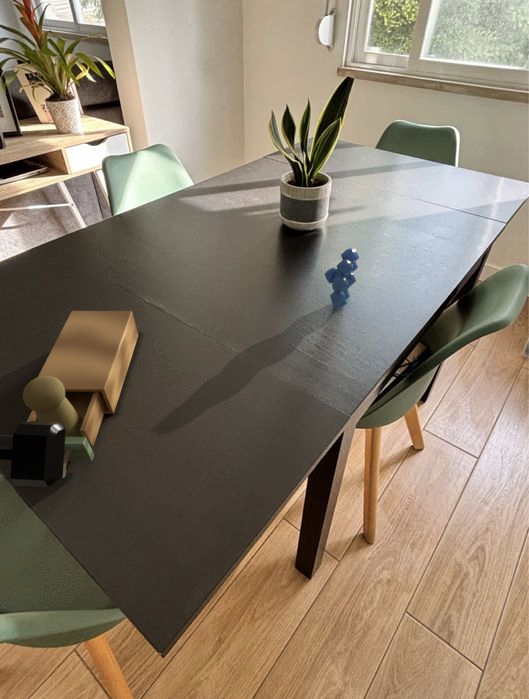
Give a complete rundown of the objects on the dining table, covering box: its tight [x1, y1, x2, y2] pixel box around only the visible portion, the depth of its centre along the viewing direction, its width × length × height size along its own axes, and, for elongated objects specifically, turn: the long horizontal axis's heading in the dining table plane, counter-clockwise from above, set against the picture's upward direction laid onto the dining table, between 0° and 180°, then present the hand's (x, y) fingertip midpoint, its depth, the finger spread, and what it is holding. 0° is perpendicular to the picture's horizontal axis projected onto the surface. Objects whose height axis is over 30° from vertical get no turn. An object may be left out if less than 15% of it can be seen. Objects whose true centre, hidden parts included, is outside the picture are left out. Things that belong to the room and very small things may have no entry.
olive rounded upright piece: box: [22, 376, 83, 437], centre depth 61 cm, size 6×6×11 cm
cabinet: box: [37, 310, 139, 415], centre depth 75 cm, size 19×11×6 cm, turn 0°
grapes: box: [324, 247, 360, 310], centre depth 88 cm, size 12×7×12 cm, turn 158°
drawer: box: [26, 392, 107, 479], centre depth 66 cm, size 22×10×5 cm, turn 0°
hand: (16, 436), depth 52 cm, fingers open, 9 cm apart
